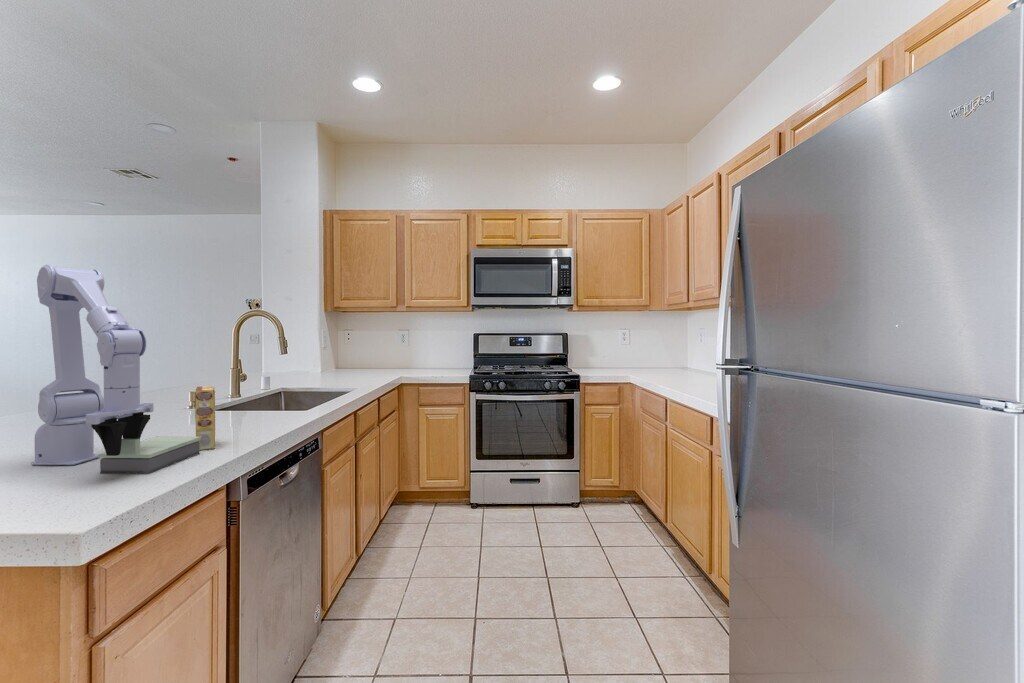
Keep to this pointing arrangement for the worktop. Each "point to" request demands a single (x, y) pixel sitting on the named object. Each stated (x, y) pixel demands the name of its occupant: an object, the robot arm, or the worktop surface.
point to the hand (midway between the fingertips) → (122, 452)
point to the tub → (148, 461)
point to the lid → (150, 446)
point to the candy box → (205, 416)
